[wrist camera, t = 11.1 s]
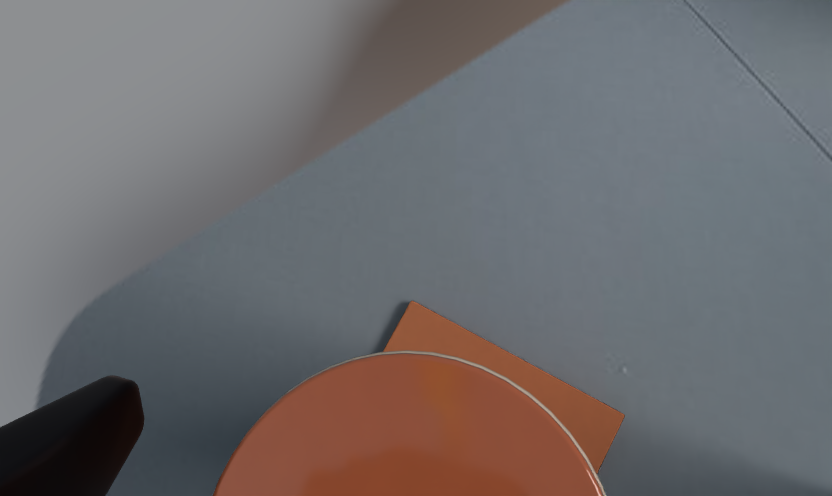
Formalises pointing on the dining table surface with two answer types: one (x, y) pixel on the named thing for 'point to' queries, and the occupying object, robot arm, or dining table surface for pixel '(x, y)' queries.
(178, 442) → the dining table surface
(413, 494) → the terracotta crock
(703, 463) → the dining table surface
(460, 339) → the terracotta mat
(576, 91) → the dining table surface
